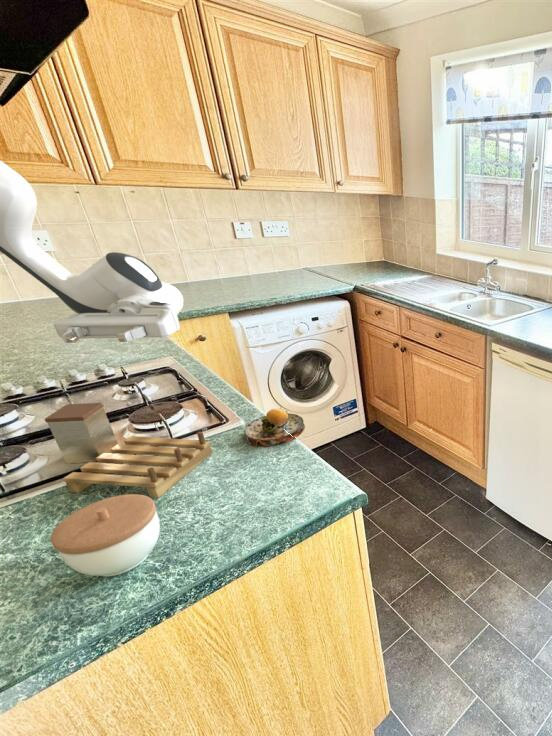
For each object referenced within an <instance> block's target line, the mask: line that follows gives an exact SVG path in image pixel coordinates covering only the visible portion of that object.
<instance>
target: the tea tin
mask: <svg viewBox="0 0 552 736" xmlns="http://www.w3.org/2000/svg"><path fill="white" fill-rule="evenodd" d="M44 421H45V423H46V424H47V425H48V428H49V429H50V432H51V434H52V436H53V438H54V440H55V442H56V445H57V446H58V449H59V450H60V452H61V455H62V457H63V460H64V461H65V463H66V464H67V465H68V464H69V465H70V464H82V463H83V464H86V463H89V462H95V463H97V462H96V461H97V460H96V458H97V457H98V456H100V455H101V454H103V453H112V452H111V450H110V449H111V448H113V447H114V446H116V445H117V444H119V443H118V441H117V438H116V436H115V433H114V430H113V428H112V426H111V422H110V420H109V418H108V416H107V412H106V411H105V408H104V403H103V402H87V403H86V402H85V403H66V404H65V405H64V406H62V407H60V408H59V409H57V410H56V411H54V412H53V413H51V414H49V415H48V416H47V417H45V418H44Z"/></svg>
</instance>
